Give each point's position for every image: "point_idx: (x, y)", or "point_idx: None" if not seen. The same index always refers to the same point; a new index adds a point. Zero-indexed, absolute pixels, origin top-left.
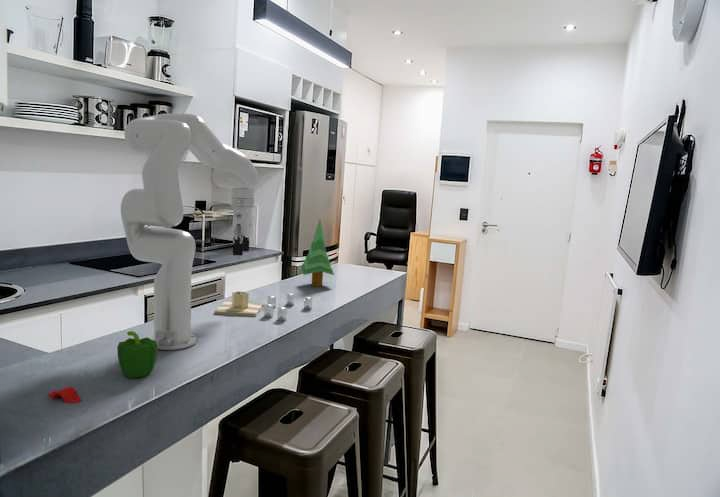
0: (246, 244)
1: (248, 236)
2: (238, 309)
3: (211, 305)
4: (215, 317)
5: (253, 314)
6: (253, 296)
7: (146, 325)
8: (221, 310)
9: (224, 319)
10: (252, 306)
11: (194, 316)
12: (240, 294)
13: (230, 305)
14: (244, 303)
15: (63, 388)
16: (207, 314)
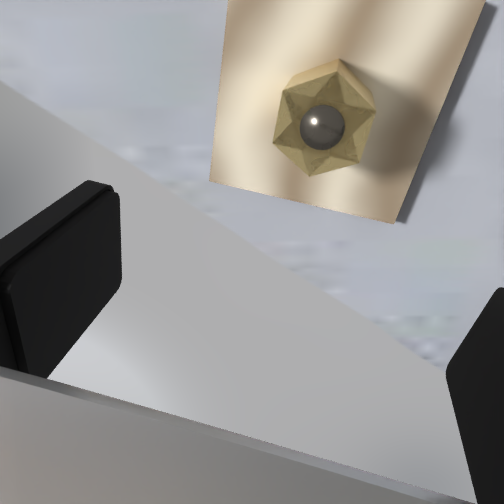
0: (64, 266)
1: (390, 482)
2: None
3: (245, 230)
4: (448, 212)
5: (476, 17)
6: (44, 35)
7: None
8: (382, 194)
9: (494, 173)
10: (311, 31)
11: (415, 285)
12: (356, 125)
13: None
14: (362, 86)
15: None
16: (391, 242)
